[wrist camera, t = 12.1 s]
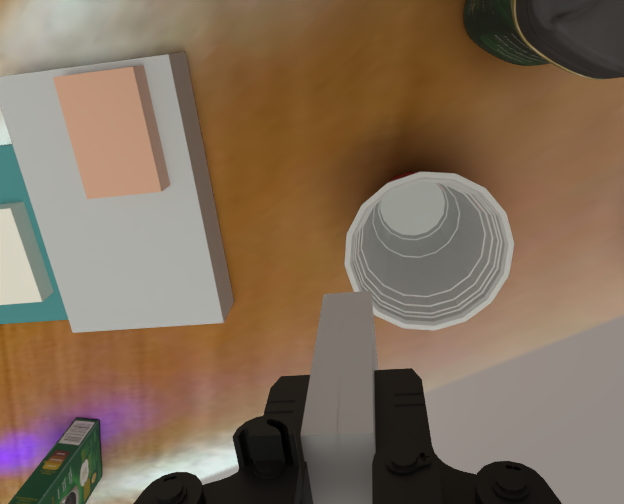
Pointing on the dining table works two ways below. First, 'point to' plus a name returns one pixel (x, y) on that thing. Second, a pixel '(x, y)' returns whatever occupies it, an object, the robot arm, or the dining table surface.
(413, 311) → the plastic cup
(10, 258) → the cream rectangular block
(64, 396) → the dining table surface
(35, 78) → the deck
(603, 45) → the coffee jar
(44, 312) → the mat
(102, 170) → the salmon pink block
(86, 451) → the coffee box
